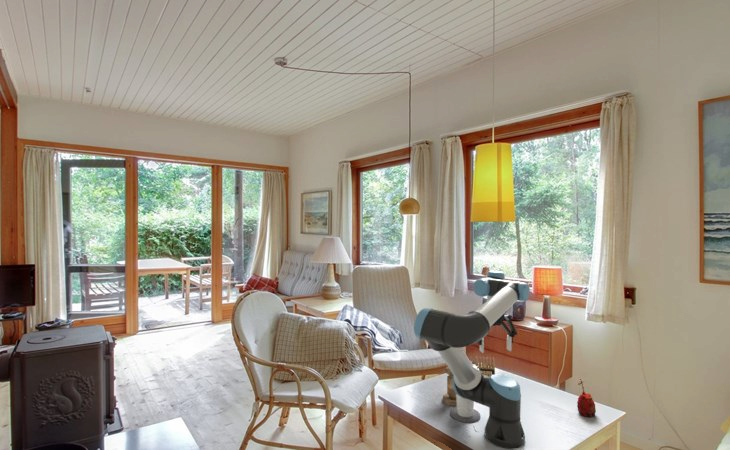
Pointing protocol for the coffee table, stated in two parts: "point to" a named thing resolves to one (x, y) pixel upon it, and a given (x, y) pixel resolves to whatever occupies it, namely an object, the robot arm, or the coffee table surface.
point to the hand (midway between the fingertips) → (495, 351)
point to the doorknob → (450, 390)
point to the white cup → (464, 406)
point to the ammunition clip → (485, 365)
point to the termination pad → (472, 419)
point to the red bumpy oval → (586, 404)
